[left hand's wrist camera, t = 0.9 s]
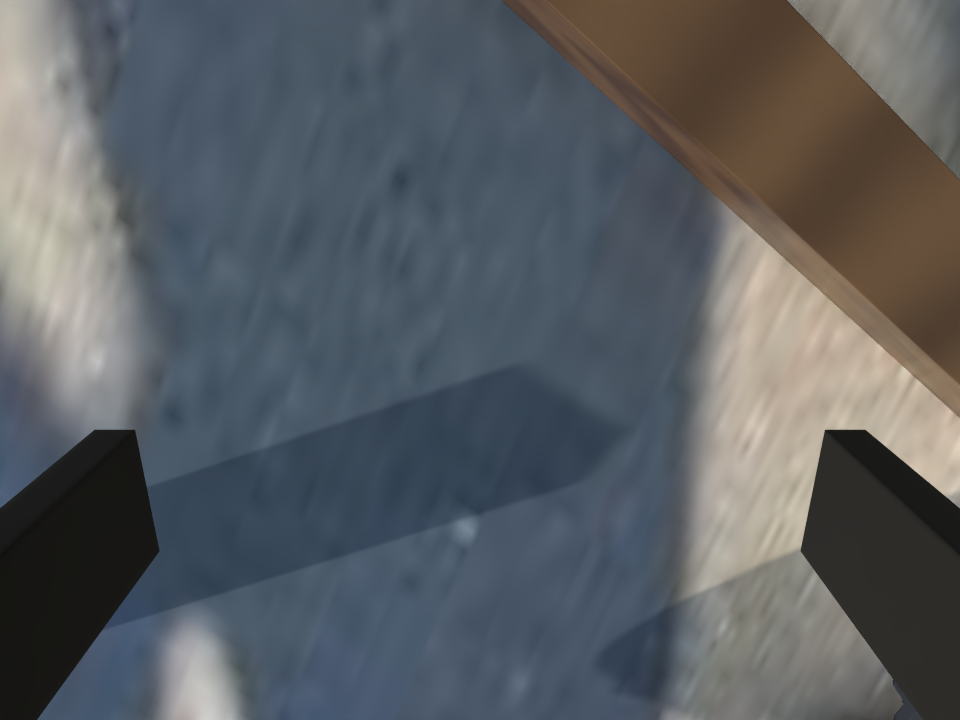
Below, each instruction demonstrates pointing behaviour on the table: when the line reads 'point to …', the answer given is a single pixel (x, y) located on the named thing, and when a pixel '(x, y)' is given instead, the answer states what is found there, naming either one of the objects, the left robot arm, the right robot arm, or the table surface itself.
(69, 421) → the table surface
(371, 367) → the table surface
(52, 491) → the left robot arm
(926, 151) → the bar
